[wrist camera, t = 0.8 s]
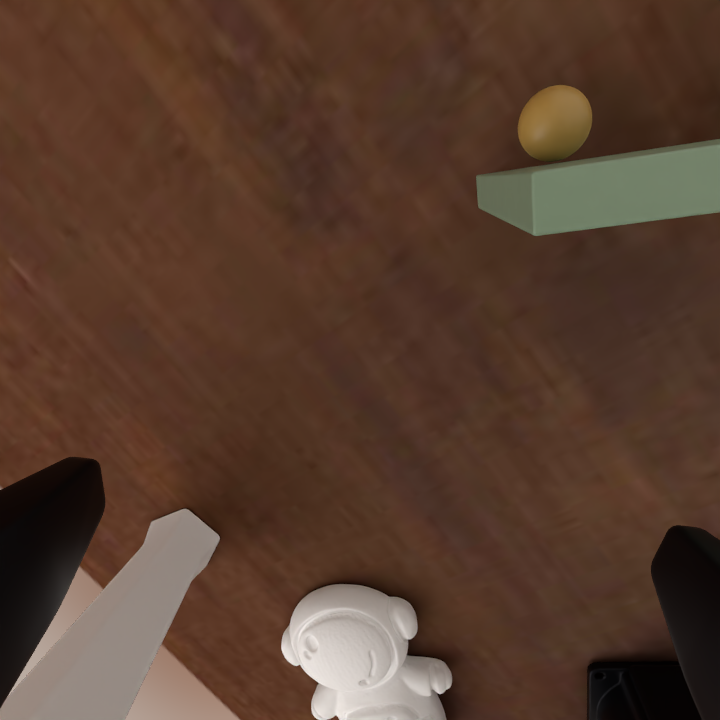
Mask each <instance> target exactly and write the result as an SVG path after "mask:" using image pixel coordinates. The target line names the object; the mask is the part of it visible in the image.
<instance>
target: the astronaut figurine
mask: <svg viewBox="0 0 720 720" xmlns="http://www.w3.org/2000/svg"><path fill="white" fill-rule="evenodd" d="M417 629H418V624H417V618H416V613H415V611H414V609H413V607H412V606H411V605H410V603H408V602H407V601H406V600H404V599H402V598H399V597H389V596H387V595H386V594H384V593H382V592H380V591H378V590H375V589H373V588H369V587H366V586H362V585H352V584H335V585H329V586H325V587H322V588H320V589H317V590H314V591H313V592H311V593H309V594H308V595H307V596H305V597H304V598H303V599H302V600H301V601H300V602H299V604H298V605H297V607H296V608H295V610H294V612H293V615H292V617H291V621H290V625H289V626H288V627H287V629H286V630H285V632H284V634H283V637H282V644H281V648H282V652H283V654H284V656H285V658H286V659H287V660H288V661H289V662H290V663H291V664H292V665H295V666H298V665H301V667H302V668H303V670H304V671H305V672H306V673H307V674H308V675H309V676H310V677H312V678H313V679H314V680H315V681H317V682H318V685H317V688H316V690H315V693H314V695H313V698H312V703H311V708H312V713H313V715H314V717H315V718H316V719H319V720H327V719H331V718H332V717H334V716H335V715H337V716H338V718H339V720H447V719H446V716H445V712H444V709H443V706H442V704H441V701H440V699H439V697H438V695H437V693H438V694H442V693H444V692H445V690H447V689H449V688H450V687H451V684H452V674H451V671H450V670H449V668H448V666H447V665H446V664H445V662H443V661H442V660H439V659H436V658H429V657H419V656H408V655H407V651H408V639H412V638H413V637H414V636H415V635H416V633H417ZM435 691H436V692H437V693H436V692H435Z"/></svg>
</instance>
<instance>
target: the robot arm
mask: <svg viewBox="0 0 720 720" xmlns="http://www.w3.org/2000/svg"><path fill="white" fill-rule="evenodd" d="M104 508H105V494H104V488H103V481H102V474H101V468H100V465H99V463H98V462H97V461H96V460H94V459H89V458H80V457H68V458H66V459H63V460H61V461H59V462H57V463H55V464H53V465H51V466H49V467H47V468H45V469H43V470H41V471H39V472H37V473H35V474H32V475H30V476H28V477H26V478H24V479H22V480H20V481H18V482H16V483H14V484H12V485H10V486H8V487H6V488H4V489H2V490H0V708H1V706H2V705H3V703H4V701H5V700H6V698H7V696H8V695H9V693H10V691H11V689H12V688H13V686H14V684H15V683H16V681H17V679H18V678H19V676H20V674H21V673H22V671H23V669H24V667H25V666H26V664H27V662H28V661H29V659H30V657H31V656H32V654H33V652H34V651H35V649H36V647H37V645H38V644H39V642H40V640H41V638H42V637H43V635H44V634H45V632H46V630H47V629H48V627H49V625H50V623H51V621H52V620H53V618H54V616H55V615H56V613H57V611H58V609H59V607H60V605H61V603H62V601H63V599H64V597H65V595H66V593H67V591H68V589H69V587H70V585H71V582H72V580H73V578H74V576H75V573H76V571H77V569H78V567H79V565H80V563H81V561H82V559H83V556H84V554H85V552H86V550H87V548H88V546H89V544H90V541H91V539H92V537H93V535H94V533H95V531H96V528H97V526H98V524H99V522H100V520H101V518H102V515H103V512H104ZM651 574H652V579H653V583H654V586H655V589H656V592H657V595H658V598H659V601H660V604H661V607H662V611H663V614H664V617H665V620H666V623H667V626H668V629H669V632H670V636H671V639H672V642H673V645H674V648H675V651H676V654H677V657H678V660H679V662H597V663H592V664H590V665H589V666H588V669H587V720H720V540H719V539H717V538H716V537H714V536H713V535H711V534H710V533H708V532H707V531H705V530H703V529H701V528H697V527H689V526H680V525H676V526H673V527H671V528H670V529H669V530H668V531H667V533H666V535H665V537H664V539H663V541H662V543H661V545H660V547H659V549H658V551H657V553H656V555H655V557H654V559H653V561H652V565H651Z"/></svg>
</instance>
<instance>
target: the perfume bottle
mask: <svg viewBox="0 0 720 720" xmlns="http://www.w3.org/2000/svg"><path fill="white" fill-rule="evenodd" d="M219 540H220V537H219V535H218V534H217V533H216V532H214V531H213V530H212V529H211V528H210V527H208V526H207V525H206V524H205V523H204V522H203V521H201V520H200V519H199V518H198V517H197V516H195V515H194V514H193V513H192V512H191V511H189V510H188V509H182V510H179V511H177V512H174V513H172V514H169V515H167V516H164V517H162V518H159V519H157V520H154V521H152V522H151V524H150V527H149V530H148V533H147V536H146V539H145V542H144V544H143V546H142V547H141V548H140V549H139V550H138V551H137V553H136V554H135V555H134V556H133V557H132V558H131V559H130V560H129V562H128V563H127V564H126V565H125V566H124V567H123V568H122V569H121V571H120V572H119V573H118V574H117V575H116V576H115V577H114V578H113V579H112V581H111V582H110V583H109V584H108V585H107V586H106V587H105V588H104V590H103V591H102V592H101V593H100V594H99V595H98V596H97V597H96V599H95V600H94V601H93V602H92V603H91V604H90V605H89V606H88V608H87V609H86V610H85V611H84V612H83V613H82V614H81V615H80V616H79V618H78V619H77V620H76V621H75V622H74V623H73V624H72V626H71V627H70V628H69V629H68V630H67V631H66V632H65V633H64V634H63V636H62V637H61V638H60V639H59V640H58V641H57V642H56V643H55V645H54V646H53V647H52V648H51V649H50V650H49V651H48V652H47V654H46V655H45V656H44V657H43V658H42V659H41V660H40V661H39V662H38V664H37V665H36V666H35V667H34V668H33V669H32V670H31V671H30V673H29V674H28V675H27V676H26V677H25V678H24V679H23V681H22V682H21V683H20V684H19V685H18V686H17V687H16V688H15V689H14V690H13V692H12V693H11V694H10V695H9V696H8V697H7V698H6V700H5V701H4V703H3V705H2V706H1V708H0V720H125V718H126V716H127V714H128V712H129V710H130V708H131V706H132V704H133V702H134V700H135V698H136V696H137V694H138V691H139V689H140V687H141V685H142V683H143V681H144V679H145V677H146V675H147V673H148V671H149V669H150V666H151V664H152V662H153V660H154V658H155V656H156V654H157V652H158V650H159V647H160V646H161V643H162V641H163V639H164V637H165V635H166V633H167V631H168V629H169V627H170V625H171V623H172V621H173V618H174V616H175V614H176V612H177V610H178V608H179V606H180V604H181V602H182V600H183V598H184V596H185V593H186V591H187V589H188V587H189V585H190V583H191V581H192V580H193V579H194V578H195V577H196V576H197V575H198V574H199V573H200V572H201V571H202V570H203V569H204V568H205V567H206V566H207V564H208V562H209V560H210V558H211V556H212V554H213V552H214V550H215V548H216V546H217V544H218V542H219Z"/></svg>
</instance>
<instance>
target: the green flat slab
mask: <svg viewBox="0 0 720 720" xmlns="http://www.w3.org/2000/svg"><path fill="white" fill-rule="evenodd" d="M591 125H592V111H591V107H590V104H589V102H588V100H587V98H586V97H585V96H584V95H583V94H582V93H581V92H580V91H579V90H577V89H575V88H573V87H570V86H566V85H555V86H551V87H548V88H545V89H543V90H541V91H539V92H538V93H536V94H535V95H534V96H533V97H532V98H531V99H530V100H529V101H528V102H527V104H526V105H525V107H524V108H523V110H522V112H521V115H520V118H519V122H518V136H519V140H520V143H521V145H522V147H523V148H524V150H525V151H526V152H527V153H528V154H529V155H530V156H532V157H533V158H535V159H538V160H540V161H546V162H553V161H559V160H562V159H564V158H567V157H569V156H570V155H572V154H573V153H575V152H576V151H577V150H578V149H579V148H580V147H581V146H582V144H583V143H584V142H585V140H586V139H587V137H588V135H589V132H590V129H591ZM476 181H477V196H478V208H480V209H482V210H484V211H486V212H488V213H490V214H492V215H494V216H496V217H498V218H500V219H502V220H504V221H506V222H508V223H510V224H512V225H514V226H516V227H518V228H520V229H522V230H524V231H526V232H528V233H530V234H532V235H534V236H540V235H548V234H555V233H563V232H571V231H579V230H586V229H594V228H602V227H610V226H617V225H625V224H633V223H641V222H648V221H656V220H664V219H672V218H679V217H687V216H695V215H702V214H710V213H718V212H720V139H716V140H709V141H702V142H696V143H689V144H682V145H676V146H669V147H662V148H656V149H649V150H642V151H636V152H629V153H622V154H615V155H609V156H602V157H595V158H589V159H582V160H575V161H569V162H562V163H555V164H549V165H542V166H535V167H528V168H522V169H515V170H508V171H502V172H495V173H488V174H482V175H477V177H476Z"/></svg>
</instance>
